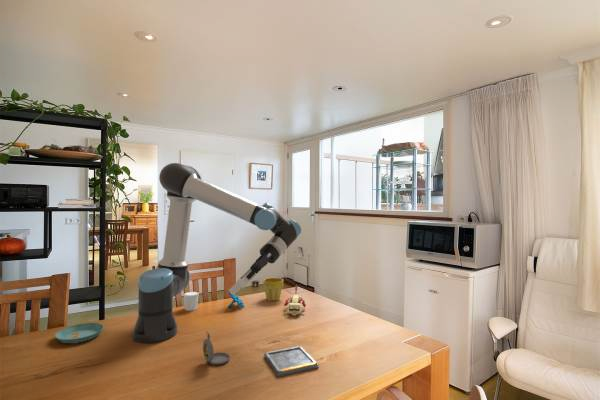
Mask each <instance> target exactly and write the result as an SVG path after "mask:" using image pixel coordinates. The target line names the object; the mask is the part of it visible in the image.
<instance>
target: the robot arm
mask: <svg viewBox="0 0 600 400" xmlns="http://www.w3.org/2000/svg"><path fill="white" fill-rule="evenodd" d="M158 179H159V183H160V185H161V187H162V188H163V189H165V190H166V197H167V199H169V207H168V214H167V215H168V216H167V224H166V231H165V239H164V240H165V241H164V246H163V247H164V249H163V257H162V259H161V260H159V261H158V262H157V268H153V269H148V270H145V271H144V272H142V273H140V275H139V278H138V283H137V284H138V285H137V288H138V303H137V304H138V305H137V306H138V307H137V309H138V311H137V312H138V313H137V315H138V316H137V319H136V321H135V323H134V327H133V329H132V340H133V341H135V342H138V343H144V344H148V343H149V344H151V343H158V342H162V341H165V340H170V339H171V338H173V337H174V336H176V334H177V333H178V324H177V320H176V318H175V316H174V311H173V298H174V297H176V296H177V295H178V294H181V292H183V291H184V290H185V289H186V288H187V286H188V285H189V283H190V280H191V275H190V274H191V273H190V271H189V270H188V268H189V263H188V261H187V259H186V252H187V245H188V238H189V230H190V229H189V227H190V222H191V215H192V206H193V203H194V202H195V201H196V200H197V201H199V202H202V203H204V204H206V205H208V206H211V207H213V208H215V209H217V210H219V211H223V212H225V213H227V214H229V215H231V216H232V217H236V218H238V219H240V220H243V221H245V222H247V223H249V224H252V225H253V226H256V227H257V229H259V230H261V231H271V233H272V234H273V235H272V236H271V237H270V239H268V240H267V242H266V243H265V244H264V245H263V246H262V247H261V248H260V249H259V255H260V256H259V257H258V258H257V259H256V260H255V261H254V262H253V264H251V266H250V267H249V269H248V270H247V271H246V272H245V273H244V274H243V275H242V276H241V277H239V279H238V280H237V281H236V282H235V283H234V284H233V285H232V286H231V287H230V289H228V292H230V293H231V294H232V295H233V296H234V295H235V294H237V293H238V292H239V291H240V290H241V289H245V287H246V286H247V285H248V284H249V283H250V282H251V281H252V280H253V279H254V278H255V276H257V274H258V273H259V272H260V271H262V269H263V268H265V266H267V265H268V264H274V263H276V261H278V259H279V258H280V257H281V256H282V254H286V250H288V248H289V247H290V246H291V245H292V244H293V243H294V242H295V241H296V240H297V239H298V237H299V236H300V235H301V233H302V228H301V225H300V224H299V222H297V221H295V220H294V219H288V220H287V219H285V218H284V217H283V216H282V215H281V214H280V212H278V210H277V209H276V208H275V207H274V206H273V205H271V203H269V202H265V203H263V204H262V205H260V204H258V203H256V202H253V201H251V200H248V199H246V198H245V197H242V196H239V195H238V194H235V193H233V192H231V191H228V190H226V189H224V188H222V187H219V186H217V185H215V184H212V183H210V182H208V181H205V180H203V179H202V176H201V174H200V172H199V171H198V170H197V169H196V168H194V167H193V166H189V165H185V164H182V163H178V162H173V163H172V162H171V163H168V164H166V165H165V166H164V167H162V169H161V170H160V172H159V177H158Z"/></svg>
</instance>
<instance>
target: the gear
mask: <svg viewBox="0 0 600 400" xmlns="http://www.w3.org/2000/svg"><path fill="white" fill-rule="evenodd" d="M236 294H237V293H236ZM236 294H235V295H234V296H233V295H232V294H231V293H230V292H229V291H228V295H229V297H230V298H231V299H232V301H231V302H230V303H229V304H228V306H227V307H228V308H231V307H232V306H233V304H235V303H236V304H237V305H238V306H239V307H241V308H244V307H245V303H244V302H243V300H242V299H240V297H239V295H236Z"/></svg>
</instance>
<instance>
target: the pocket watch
mask: <svg viewBox="0 0 600 400" xmlns="http://www.w3.org/2000/svg"><path fill="white" fill-rule="evenodd" d="M205 333H206V338H205V339H204V340H203V343H202V352H203V357H204V359H205V361H206V362H207V363H209V364H211V365H214V366H215V365H223V364H225V363H227V362H228V361H230V358H231V356H230V354H229V353H226V352H216V353H214V352H215V351H214V345H213V343H212V341H211V339H210V338H211V335H210V333H209V331H206V332H205Z"/></svg>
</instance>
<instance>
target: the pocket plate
mask: <svg viewBox="0 0 600 400" xmlns="http://www.w3.org/2000/svg"><path fill="white" fill-rule="evenodd" d="M263 357H264V359H265V360H266V362H267V364H268V365H269V367H270V368H271V369H272V370H273V372H274V373H275V375H276V377H277V378H279V377H283V376H284V377H285V376H288V375H293V374H297V373H302V372H306V371H311V370H314V369H318V368H319V363H318V362H317V361H316V360H315V359H314V358H313V357H312V356H311V355H310V354H309V353H308V351H306V350H305V348H303V347H302V346H301V345H299V346H293V347H288V348H283V349H277V350H272V351H267V352H265V353H263Z"/></svg>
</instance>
